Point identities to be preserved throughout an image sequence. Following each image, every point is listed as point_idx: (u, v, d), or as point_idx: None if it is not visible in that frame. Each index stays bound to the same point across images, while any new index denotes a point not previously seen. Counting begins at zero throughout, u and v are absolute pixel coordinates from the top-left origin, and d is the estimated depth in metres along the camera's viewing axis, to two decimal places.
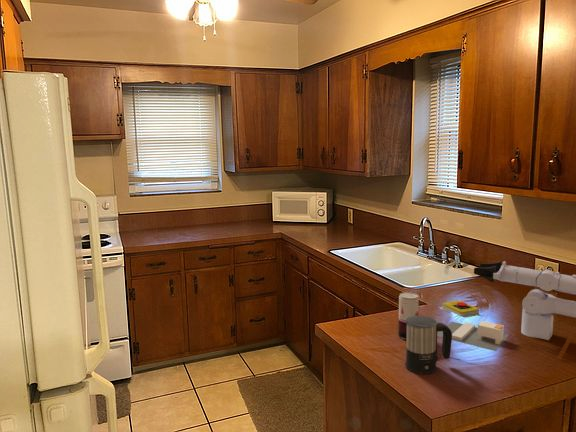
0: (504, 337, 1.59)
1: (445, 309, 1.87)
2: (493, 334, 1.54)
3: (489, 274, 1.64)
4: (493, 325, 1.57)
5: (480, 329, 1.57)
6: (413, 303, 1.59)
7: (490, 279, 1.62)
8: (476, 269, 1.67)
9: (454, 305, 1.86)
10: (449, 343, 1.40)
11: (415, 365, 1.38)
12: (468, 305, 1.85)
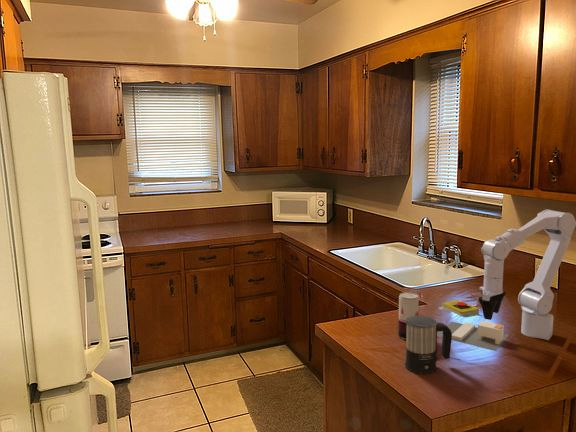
0: (504, 337, 1.59)
1: (445, 309, 1.87)
2: (493, 334, 1.54)
3: (489, 304, 1.52)
4: (493, 325, 1.57)
5: (480, 329, 1.57)
6: (413, 304, 1.59)
7: (492, 303, 1.50)
8: (485, 316, 1.53)
9: (454, 305, 1.86)
10: (449, 343, 1.40)
11: (414, 365, 1.38)
12: (468, 305, 1.86)
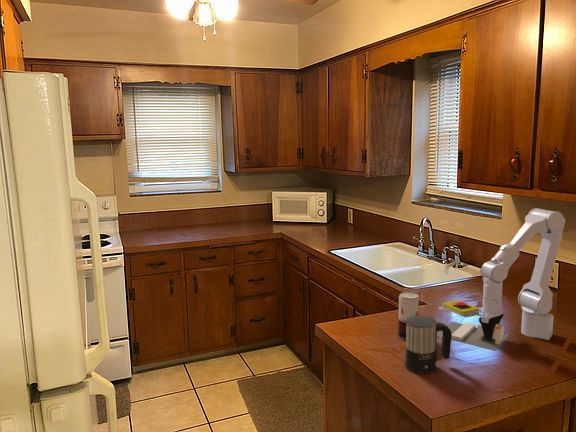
0: (504, 337, 1.59)
1: (445, 309, 1.87)
2: (493, 334, 1.54)
3: (489, 324, 1.54)
4: None
5: (480, 329, 1.57)
6: (413, 304, 1.59)
7: (492, 324, 1.52)
8: (485, 336, 1.55)
9: (454, 305, 1.86)
10: (449, 343, 1.40)
11: (414, 365, 1.38)
12: (468, 305, 1.86)
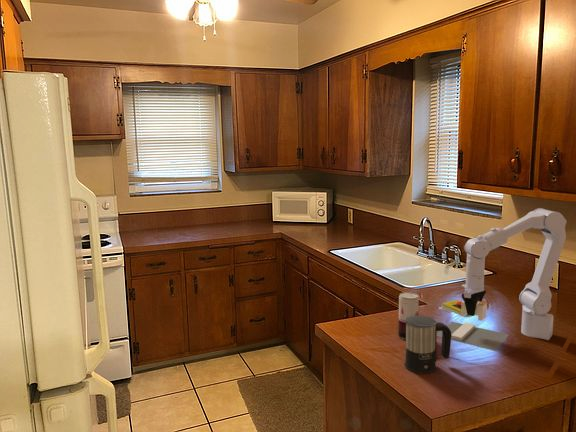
0: (504, 337, 1.59)
1: (445, 309, 1.87)
2: (476, 311, 1.57)
3: (472, 300, 1.57)
4: None
5: (464, 306, 1.59)
6: (413, 303, 1.59)
7: (474, 299, 1.54)
8: (468, 312, 1.58)
9: (454, 305, 1.86)
10: (448, 343, 1.40)
11: (414, 365, 1.38)
12: None
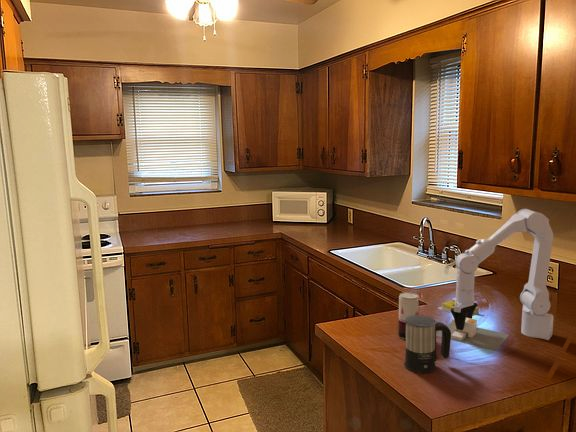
0: (504, 337, 1.59)
1: (445, 309, 1.87)
2: (466, 328, 1.60)
3: (460, 315, 1.59)
4: (466, 319, 1.62)
5: (454, 323, 1.62)
6: (413, 303, 1.59)
7: (463, 315, 1.56)
8: (457, 327, 1.60)
9: (454, 305, 1.86)
10: (448, 342, 1.40)
11: (414, 364, 1.38)
12: None
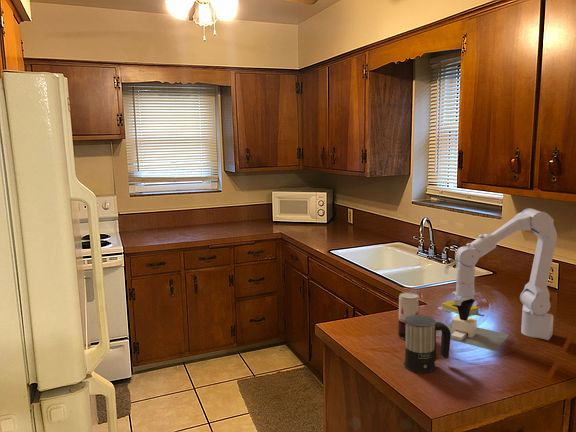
0: (504, 337, 1.59)
1: (445, 309, 1.87)
2: (466, 328, 1.60)
3: (464, 305, 1.61)
4: None
5: (454, 323, 1.62)
6: (413, 303, 1.59)
7: (467, 305, 1.59)
8: (461, 317, 1.62)
9: (454, 305, 1.86)
10: (448, 342, 1.40)
11: (413, 364, 1.38)
12: None
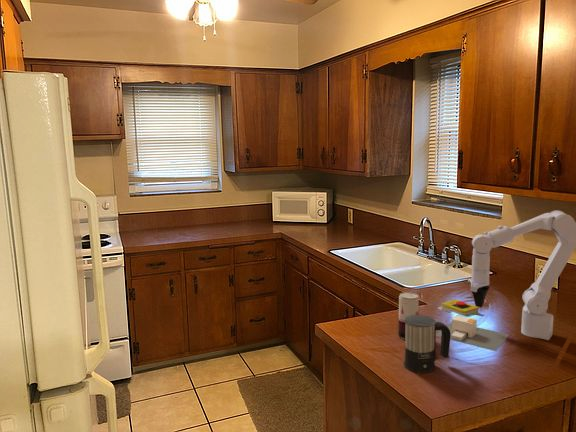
0: (504, 337, 1.59)
1: (445, 309, 1.87)
2: (466, 328, 1.60)
3: (480, 292, 1.64)
4: (466, 319, 1.62)
5: (454, 323, 1.62)
6: (413, 304, 1.59)
7: (482, 292, 1.62)
8: (476, 304, 1.65)
9: (453, 305, 1.86)
10: (448, 342, 1.40)
11: (413, 364, 1.39)
12: (466, 304, 1.87)
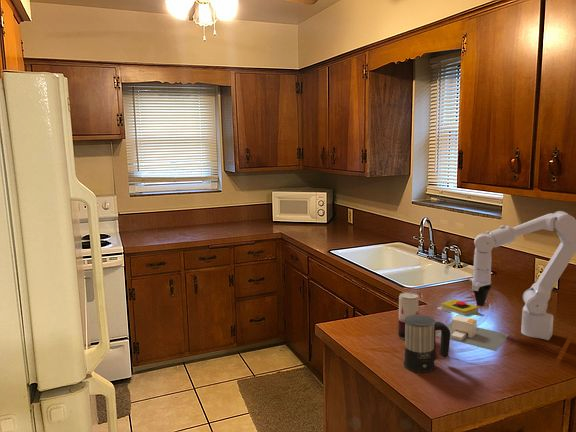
0: (504, 337, 1.59)
1: (445, 309, 1.87)
2: (466, 328, 1.60)
3: (481, 291, 1.64)
4: (466, 319, 1.62)
5: (454, 323, 1.62)
6: (413, 303, 1.59)
7: (484, 291, 1.62)
8: (478, 303, 1.66)
9: (453, 305, 1.86)
10: (447, 342, 1.41)
11: (413, 364, 1.39)
12: (466, 304, 1.87)
